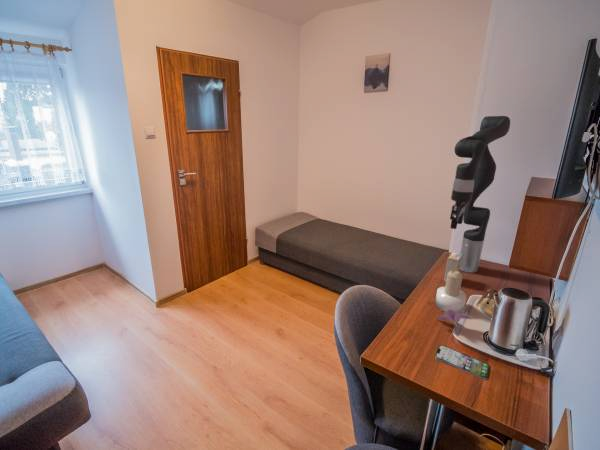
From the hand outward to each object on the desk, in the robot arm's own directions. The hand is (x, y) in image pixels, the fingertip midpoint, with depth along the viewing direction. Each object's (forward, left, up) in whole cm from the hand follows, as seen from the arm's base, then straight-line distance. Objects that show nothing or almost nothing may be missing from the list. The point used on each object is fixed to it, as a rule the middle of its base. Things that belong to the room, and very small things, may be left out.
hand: (456, 226), depth 131 cm
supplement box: (-8, 0, -30) cm, 31 cm away
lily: (+29, +11, -30) cm, 44 cm away
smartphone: (+45, +18, -31) cm, 58 cm away
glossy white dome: (+15, +6, -30) cm, 34 cm away
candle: (+15, +6, -24) cm, 29 cm away
